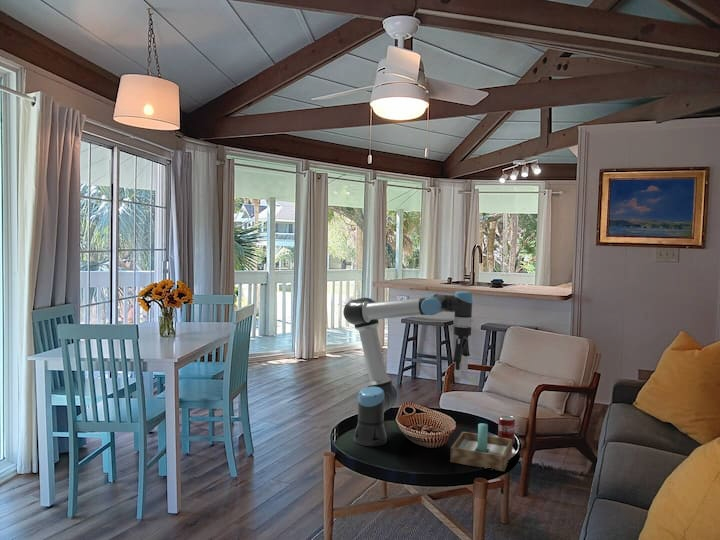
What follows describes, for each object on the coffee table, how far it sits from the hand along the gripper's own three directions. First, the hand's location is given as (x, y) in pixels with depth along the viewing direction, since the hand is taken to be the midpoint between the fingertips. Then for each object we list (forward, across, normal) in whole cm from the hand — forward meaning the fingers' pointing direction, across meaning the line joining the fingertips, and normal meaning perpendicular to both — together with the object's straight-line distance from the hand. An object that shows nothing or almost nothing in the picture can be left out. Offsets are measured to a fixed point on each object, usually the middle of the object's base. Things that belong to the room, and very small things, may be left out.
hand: (461, 373), depth 248 cm
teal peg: (+33, -9, -12) cm, 36 cm away
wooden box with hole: (+33, -9, -12) cm, 36 cm away
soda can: (+33, +12, -19) cm, 40 cm away
